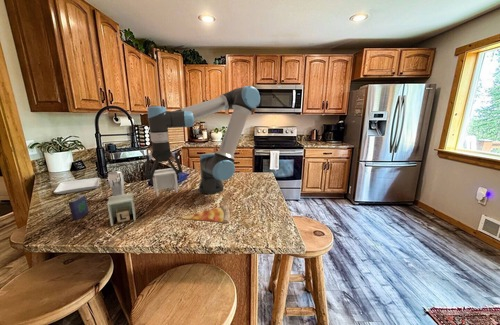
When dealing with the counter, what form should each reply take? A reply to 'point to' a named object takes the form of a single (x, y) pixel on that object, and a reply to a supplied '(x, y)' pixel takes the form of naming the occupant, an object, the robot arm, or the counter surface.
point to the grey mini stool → (165, 179)
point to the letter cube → (123, 214)
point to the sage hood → (120, 205)
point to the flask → (78, 207)
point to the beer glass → (116, 182)
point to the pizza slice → (212, 215)
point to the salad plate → (77, 186)
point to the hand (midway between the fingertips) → (166, 188)
